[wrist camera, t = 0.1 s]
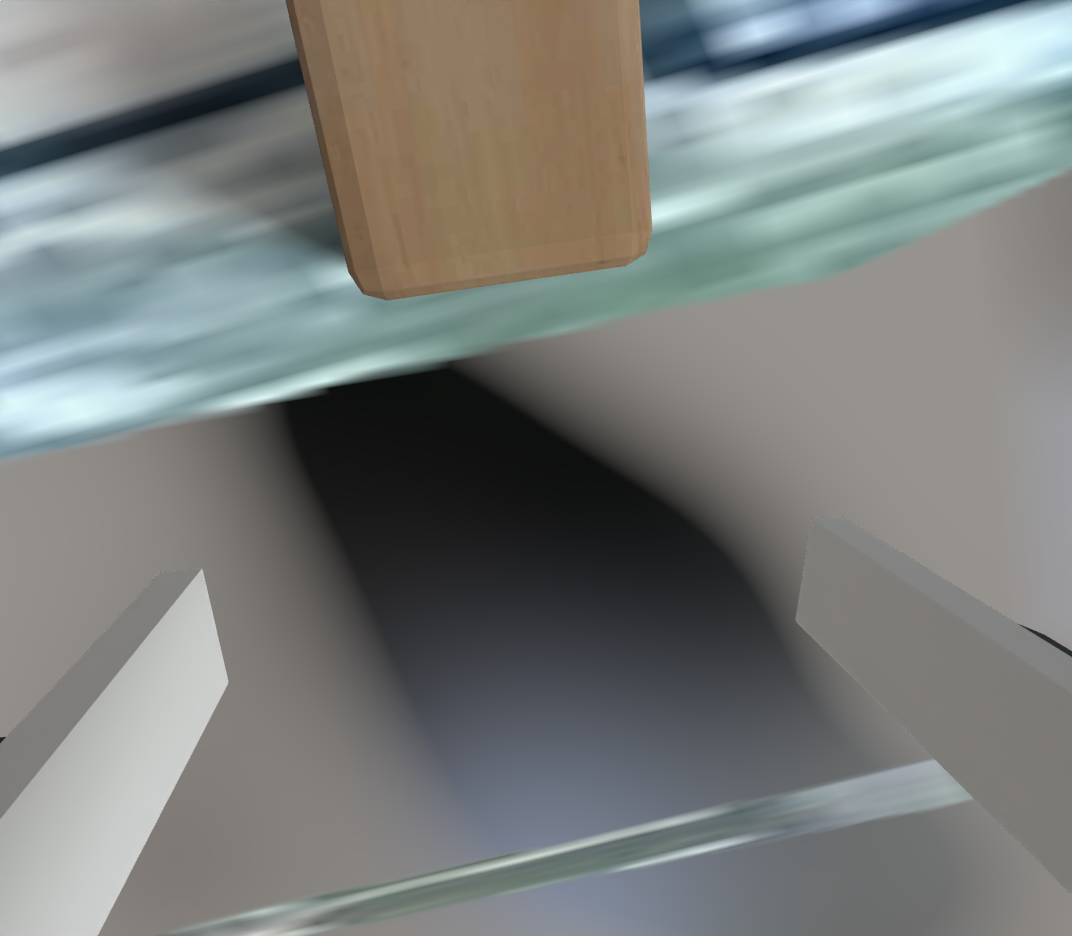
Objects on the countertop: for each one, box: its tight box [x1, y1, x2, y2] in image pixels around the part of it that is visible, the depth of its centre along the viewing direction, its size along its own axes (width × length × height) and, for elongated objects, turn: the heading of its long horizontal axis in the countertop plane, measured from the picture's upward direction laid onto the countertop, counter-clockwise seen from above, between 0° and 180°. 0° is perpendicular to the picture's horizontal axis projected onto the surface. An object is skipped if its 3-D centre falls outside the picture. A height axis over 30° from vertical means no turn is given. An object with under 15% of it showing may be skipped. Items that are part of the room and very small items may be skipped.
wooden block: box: [286, 0, 652, 300], centre depth 26 cm, size 10×10×20 cm
